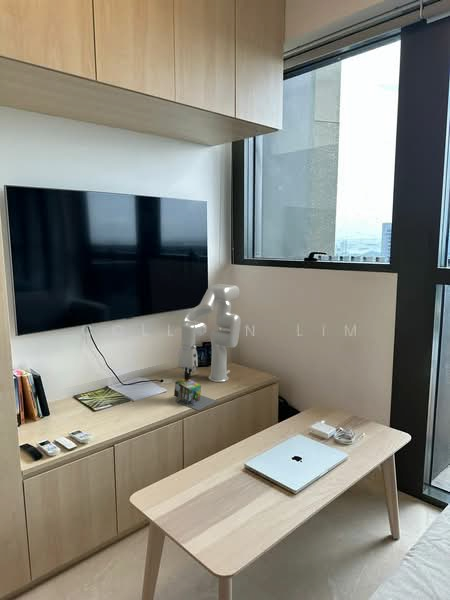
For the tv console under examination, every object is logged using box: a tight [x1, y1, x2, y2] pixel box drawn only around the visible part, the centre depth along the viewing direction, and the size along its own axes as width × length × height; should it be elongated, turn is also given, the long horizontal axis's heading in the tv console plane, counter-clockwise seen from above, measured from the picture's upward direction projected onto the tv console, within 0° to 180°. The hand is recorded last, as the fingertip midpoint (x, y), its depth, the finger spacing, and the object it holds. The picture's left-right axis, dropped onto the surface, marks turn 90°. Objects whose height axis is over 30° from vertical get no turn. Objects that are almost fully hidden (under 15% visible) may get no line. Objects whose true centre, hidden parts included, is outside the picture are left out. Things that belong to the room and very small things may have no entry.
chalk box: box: [173, 378, 202, 405], centre depth 217 cm, size 9×9×15 cm
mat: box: [175, 394, 218, 412], centre depth 217 cm, size 16×16×1 cm
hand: (187, 379), depth 219 cm, fingers closed
